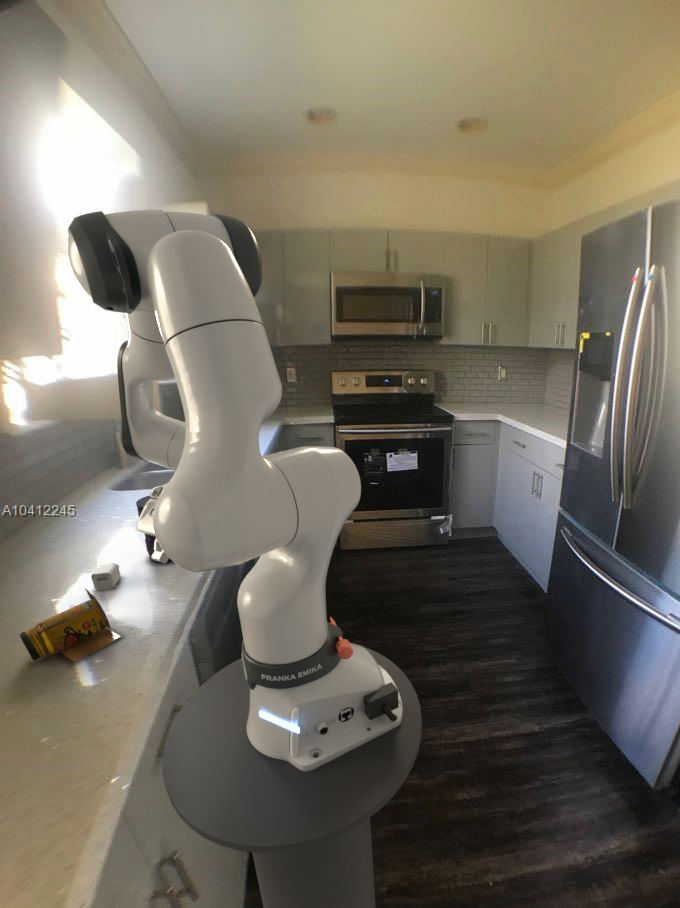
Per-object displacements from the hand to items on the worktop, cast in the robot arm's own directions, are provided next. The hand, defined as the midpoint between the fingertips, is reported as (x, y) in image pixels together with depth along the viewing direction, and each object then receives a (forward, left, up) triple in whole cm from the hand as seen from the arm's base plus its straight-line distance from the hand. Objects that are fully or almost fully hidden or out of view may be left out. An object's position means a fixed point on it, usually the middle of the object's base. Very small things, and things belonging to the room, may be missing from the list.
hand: (158, 561), depth 92 cm
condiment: (+10, +6, -5) cm, 13 cm away
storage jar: (+1, -23, -9) cm, 24 cm away
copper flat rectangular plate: (+13, +9, -9) cm, 19 cm away
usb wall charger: (+13, -14, -9) cm, 21 cm away
